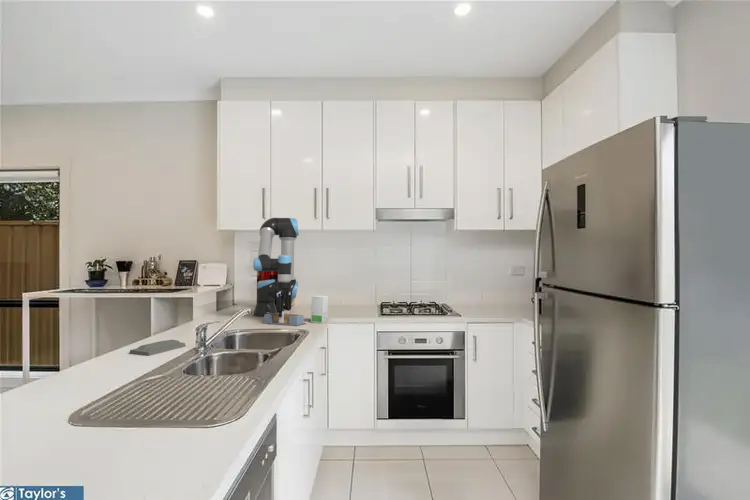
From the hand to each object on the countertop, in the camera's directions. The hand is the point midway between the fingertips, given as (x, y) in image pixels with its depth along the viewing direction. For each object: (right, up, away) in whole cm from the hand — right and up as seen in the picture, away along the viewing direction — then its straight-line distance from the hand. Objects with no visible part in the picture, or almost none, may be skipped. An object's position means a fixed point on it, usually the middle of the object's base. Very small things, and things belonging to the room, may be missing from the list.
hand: (283, 322), depth 258 cm
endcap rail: (0, -1, 0) cm, 1 cm away
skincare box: (+20, -2, +8) cm, 21 cm away
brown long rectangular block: (0, 0, 0) cm, 0 cm away
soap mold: (-35, 0, -76) cm, 84 cm away
